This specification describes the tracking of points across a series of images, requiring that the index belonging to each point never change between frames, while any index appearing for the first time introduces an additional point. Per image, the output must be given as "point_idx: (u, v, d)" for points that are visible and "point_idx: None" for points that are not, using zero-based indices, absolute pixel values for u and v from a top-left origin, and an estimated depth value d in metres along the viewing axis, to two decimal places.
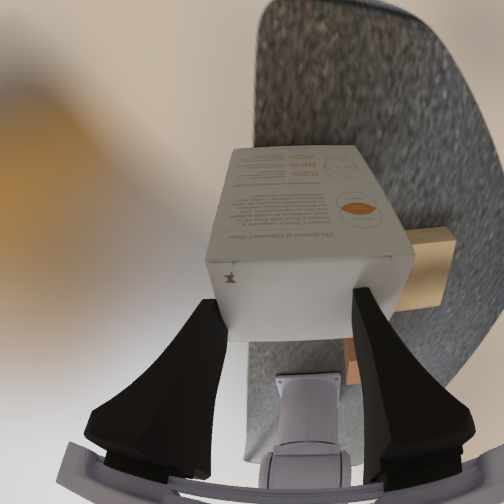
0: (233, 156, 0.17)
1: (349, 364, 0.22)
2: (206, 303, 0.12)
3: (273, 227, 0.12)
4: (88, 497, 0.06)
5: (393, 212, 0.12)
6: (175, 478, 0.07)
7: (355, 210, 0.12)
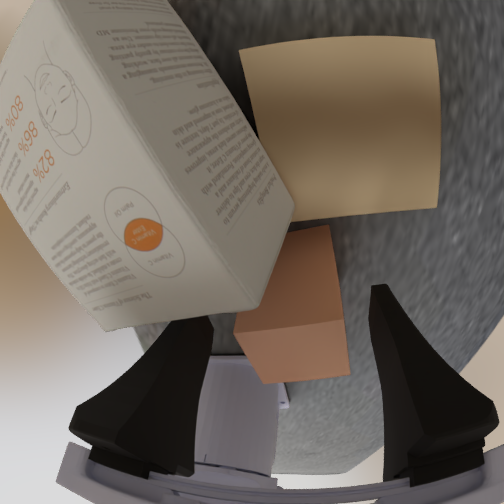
0: None
1: (239, 340, 0.11)
2: None
3: (103, 294, 0.09)
4: (88, 497, 0.06)
5: (193, 225, 0.06)
6: (175, 478, 0.07)
7: (141, 242, 0.07)
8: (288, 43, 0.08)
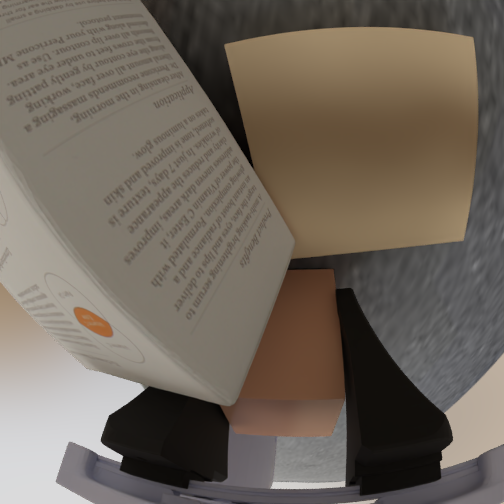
0: None
1: None
2: None
3: (75, 346, 0.08)
4: (88, 497, 0.06)
5: (141, 334, 0.04)
6: None
7: (94, 328, 0.05)
8: (289, 34, 0.06)
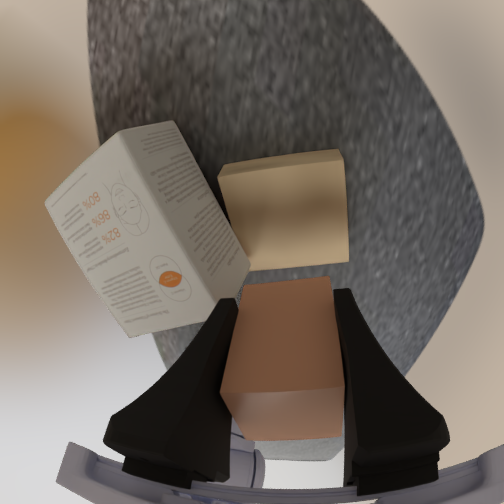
0: (53, 220, 0.15)
1: (226, 399, 0.09)
2: (225, 303, 0.12)
3: (136, 311, 0.16)
4: (88, 497, 0.06)
5: (197, 276, 0.14)
6: None
7: (169, 282, 0.15)
8: (246, 173, 0.16)
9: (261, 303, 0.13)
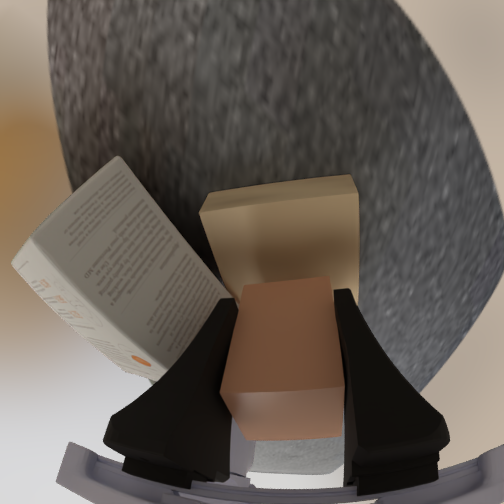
0: (25, 280, 0.13)
1: (226, 399, 0.09)
2: (225, 302, 0.12)
3: (123, 363, 0.15)
4: (88, 497, 0.06)
5: (164, 369, 0.12)
6: None
7: (141, 362, 0.13)
8: (234, 208, 0.13)
9: (261, 303, 0.13)
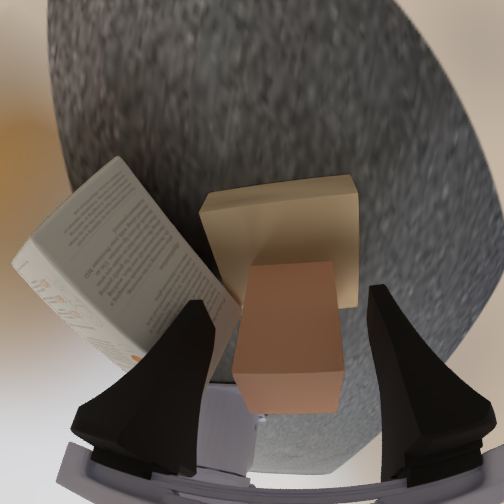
0: (25, 280, 0.13)
1: (236, 378, 0.10)
2: (192, 304, 0.12)
3: (123, 363, 0.15)
4: (88, 497, 0.06)
5: None
6: (175, 478, 0.07)
7: None
8: (234, 208, 0.13)
9: (267, 285, 0.14)
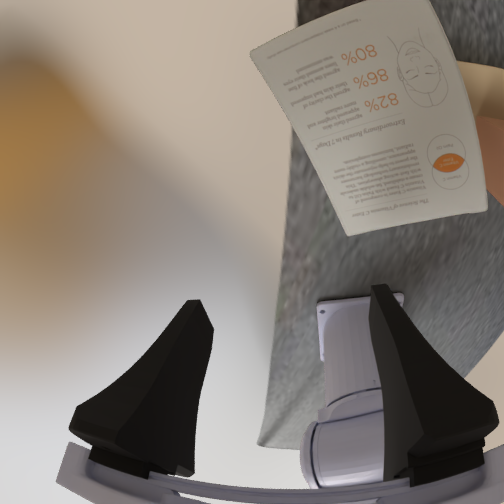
0: (266, 78, 0.11)
1: None
2: (190, 304, 0.12)
3: (381, 200, 0.13)
4: (88, 497, 0.06)
5: (480, 163, 0.09)
6: (175, 478, 0.07)
7: (446, 167, 0.10)
8: (474, 64, 0.11)
9: (500, 124, 0.11)
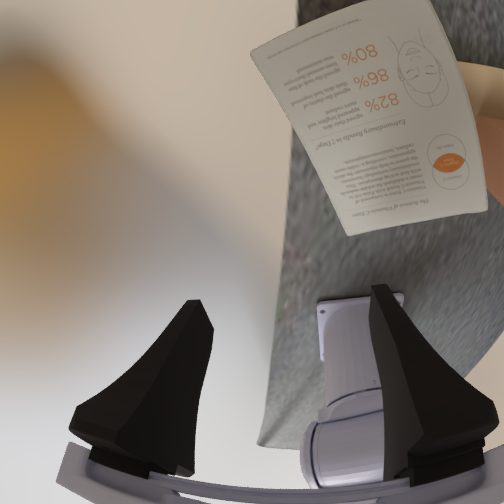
0: (267, 77, 0.11)
1: None
2: (190, 304, 0.12)
3: (381, 200, 0.13)
4: (88, 497, 0.06)
5: (480, 163, 0.09)
6: (175, 478, 0.07)
7: (446, 167, 0.10)
8: (474, 65, 0.11)
9: (500, 124, 0.11)
